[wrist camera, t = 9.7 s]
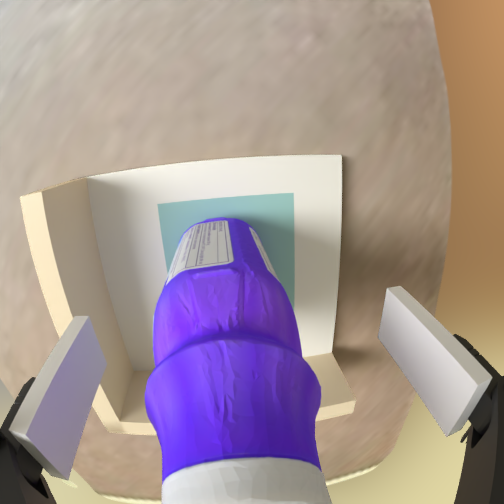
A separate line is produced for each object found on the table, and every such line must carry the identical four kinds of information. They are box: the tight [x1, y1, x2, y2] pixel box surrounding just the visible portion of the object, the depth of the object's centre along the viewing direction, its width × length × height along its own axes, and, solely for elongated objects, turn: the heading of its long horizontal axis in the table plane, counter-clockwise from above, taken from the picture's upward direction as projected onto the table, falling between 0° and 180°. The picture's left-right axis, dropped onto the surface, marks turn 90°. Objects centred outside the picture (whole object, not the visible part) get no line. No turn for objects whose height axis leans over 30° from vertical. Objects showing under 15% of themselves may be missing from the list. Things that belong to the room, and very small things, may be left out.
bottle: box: [145, 217, 332, 504], centre depth 13 cm, size 7×6×17 cm
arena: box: [20, 154, 356, 435], centre depth 19 cm, size 18×19×7 cm
